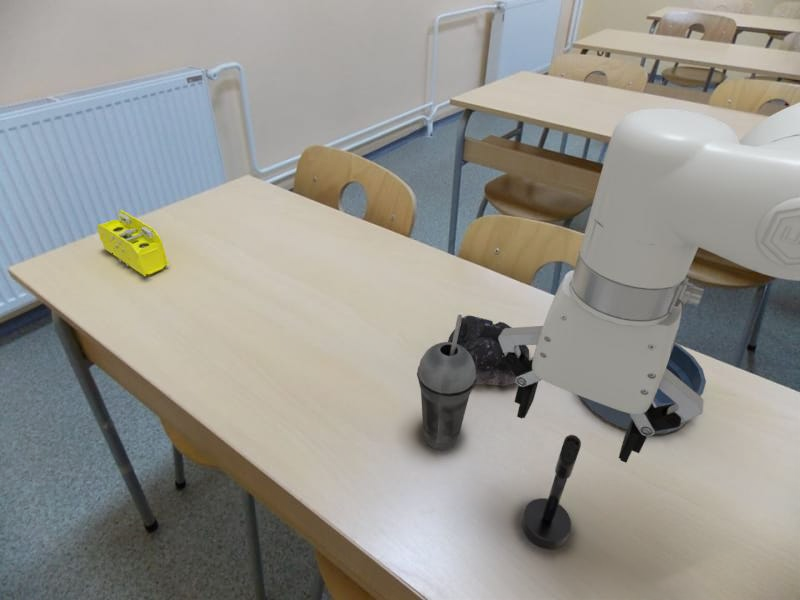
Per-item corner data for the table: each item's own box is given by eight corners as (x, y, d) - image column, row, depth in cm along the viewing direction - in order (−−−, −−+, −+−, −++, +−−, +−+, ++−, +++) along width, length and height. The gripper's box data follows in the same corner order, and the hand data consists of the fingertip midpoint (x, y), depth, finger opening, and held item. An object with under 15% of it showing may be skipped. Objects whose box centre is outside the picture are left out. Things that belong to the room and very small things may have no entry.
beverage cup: (402, 431, 70) (406, 314, 59) (443, 407, 74) (454, 293, 62) (437, 468, 66) (449, 349, 54) (479, 440, 69) (498, 324, 57)
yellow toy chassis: (172, 268, 102) (161, 231, 97) (144, 280, 99) (132, 242, 94) (130, 242, 110) (119, 206, 105) (104, 252, 107) (90, 215, 102)
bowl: (716, 419, 73) (732, 388, 70) (622, 450, 68) (635, 419, 65) (636, 347, 85) (647, 318, 82) (553, 369, 81) (561, 340, 77)
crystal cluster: (482, 327, 90) (481, 279, 84) (550, 360, 82) (555, 310, 76) (430, 368, 83) (425, 319, 77) (499, 409, 74) (499, 358, 69)
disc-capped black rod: (577, 540, 58) (613, 451, 49) (537, 556, 57) (567, 466, 47) (551, 501, 62) (580, 412, 53) (513, 514, 61) (536, 425, 51)
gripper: (752, 292, 39) (674, 439, 49) (531, 231, 46) (502, 372, 56) (751, 349, 34) (663, 501, 44) (500, 270, 40) (474, 418, 50)
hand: (573, 428), depth 50 cm, fingers open, 9 cm apart
